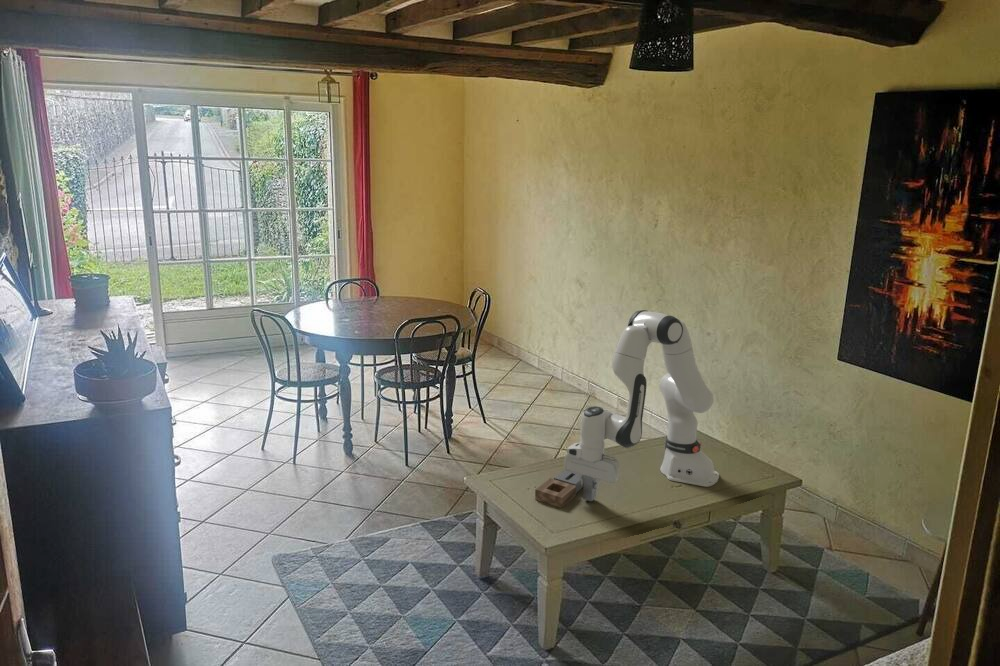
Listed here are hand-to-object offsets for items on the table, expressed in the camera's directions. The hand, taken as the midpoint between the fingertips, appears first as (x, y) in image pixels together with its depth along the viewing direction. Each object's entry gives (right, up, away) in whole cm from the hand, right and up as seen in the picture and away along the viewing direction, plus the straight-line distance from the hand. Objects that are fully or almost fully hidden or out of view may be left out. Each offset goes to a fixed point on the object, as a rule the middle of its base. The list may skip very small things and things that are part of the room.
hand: (590, 486), depth 258 cm
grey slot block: (-6, -2, +12) cm, 14 cm away
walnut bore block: (-12, -5, +3) cm, 13 cm away
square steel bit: (0, -5, +1) cm, 5 cm away
